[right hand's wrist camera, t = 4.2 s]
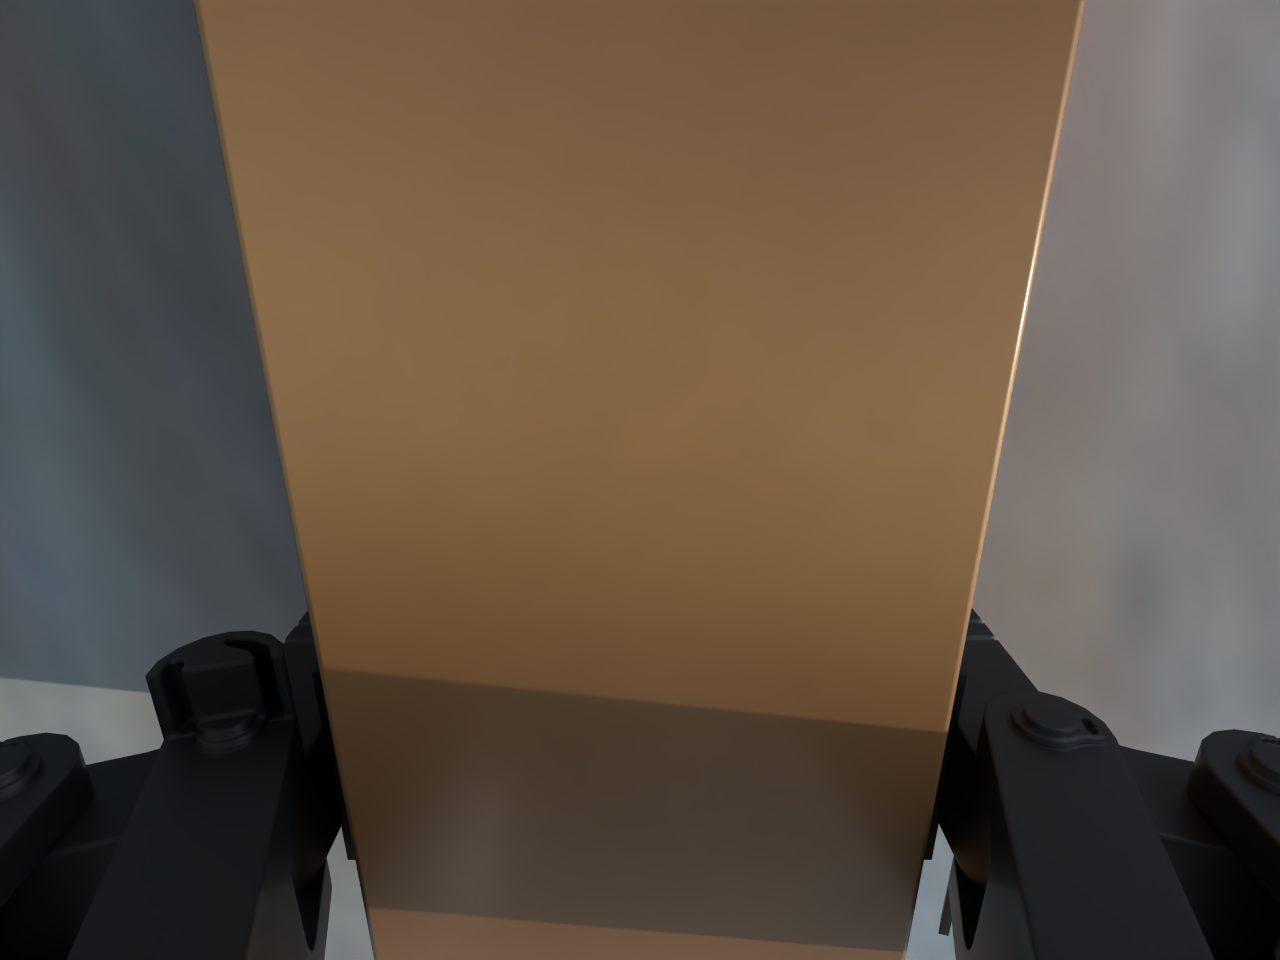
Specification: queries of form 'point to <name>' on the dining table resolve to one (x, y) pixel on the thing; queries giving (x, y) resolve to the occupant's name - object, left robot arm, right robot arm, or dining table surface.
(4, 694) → the dining table surface
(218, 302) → the dining table surface
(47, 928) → the right robot arm
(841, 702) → the post
